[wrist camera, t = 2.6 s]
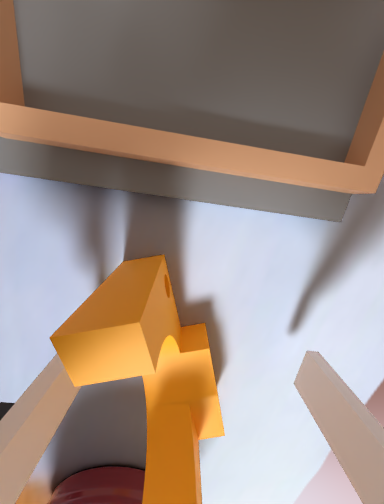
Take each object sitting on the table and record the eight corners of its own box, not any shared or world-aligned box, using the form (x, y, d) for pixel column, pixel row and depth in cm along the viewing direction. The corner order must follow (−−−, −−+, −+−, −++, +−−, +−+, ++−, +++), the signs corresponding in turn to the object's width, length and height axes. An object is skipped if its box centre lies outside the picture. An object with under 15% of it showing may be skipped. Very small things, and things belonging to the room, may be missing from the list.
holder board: (-14, 170, 9) (-73, 162, 7) (-84, -229, 6) (-241, -478, 4) (326, 220, 11) (361, 225, 9) (430, -71, 7) (531, -182, 5)
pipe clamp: (216, 385, 15) (239, 522, 8) (164, 394, 15) (150, 536, 8) (192, 248, 11) (201, 311, 5) (124, 260, 11) (49, 337, 5)
